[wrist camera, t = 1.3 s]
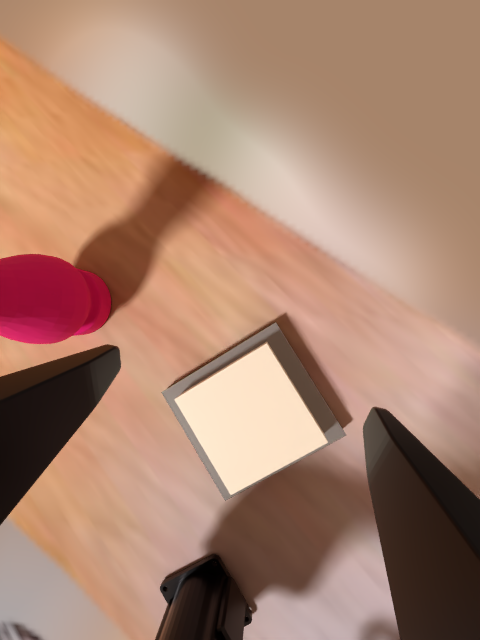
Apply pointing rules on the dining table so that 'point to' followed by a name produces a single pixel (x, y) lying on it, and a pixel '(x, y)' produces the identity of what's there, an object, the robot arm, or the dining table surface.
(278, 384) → the grey square coaster
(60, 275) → the pepper mill
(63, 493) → the dining table surface
